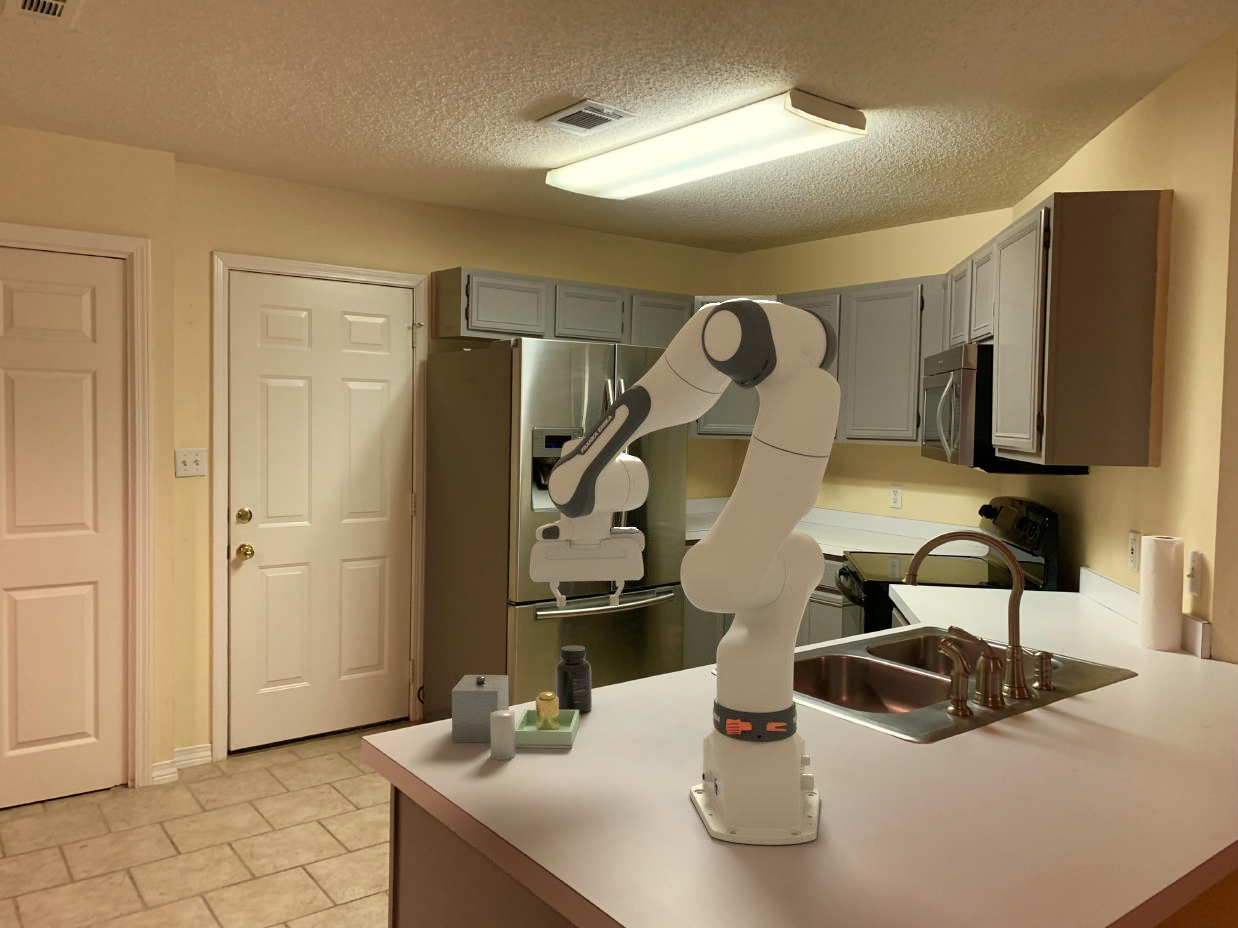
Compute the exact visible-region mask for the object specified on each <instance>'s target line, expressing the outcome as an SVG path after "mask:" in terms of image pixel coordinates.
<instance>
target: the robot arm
mask: <svg viewBox="0 0 1238 928" xmlns="http://www.w3.org/2000/svg"><path fill="white" fill-rule="evenodd" d="M837 351H838V337H837V334H836V330H835V328H834V327H833V325H832V324H831V323H830V321H829V320H827V319H826V317H824V316H822V315H821V314H820V313H817V312H815V311H813V310H810V309H805V308H799V307H795V306H791V305H787V304H785V303H782V302H779V301H771V300H762V299H761V300H760V299H759V300H753V299H749V298H734V299H730V300H726V301H723V302H721V303H720V302H717V303H715V302H714V303H709V304H706V305H704V306H702V307H701V308H700V309H698V311H697V312H695V313H694V315H692V317H690V318H689V320H688V321H687V322H686V323H685V324H684V325H683V326H682V328H681V329H680V330H679V331H678V332H677V334H676V335H675V336H674V338H673V339H672V340H671V342H670V343H669V345H668V346H667V347H666V349H665V350H664V352H663V354H662V355H661V356H660V357H659V359H658V360H657V361H656V362H655V363H654V365H653V366H652V367H651V368H649V370H648V371H647V372H646V373H645V374H644V375H643V376H642V377H641V378H640V379H639V380H637V381H636V382H634V384H633V385H632V386H630V387H628V388H627V389H626V390H625V391H623V392H622V393H621V394H620V395H619V396H618V397H617V398H616V399H615V400H614V401H613V402H612V403H611V405H610V406H609V407H608V408H607V409H606V411H605V412H603V414H602V415H601V416H600V417H599V418H598V420H597V421H596V423H594V425H593V426H592V427H591V429H590V430H589V431H588V432H587V433H586V435H585V436H582V437H575V438H571V439H570V440H568V441H566V442H564V444H563V445H562V449H561V453H560V458H559V460H557V462H556V463H555V464H554V466H553V467H552V468H551V471H550V473H549V476H548V479H547V492H548V495H549V496H548V497H549V498H550V500H551V502H552V504H553V505H554V507H555V508H556V509H557V510H558V511H559V512H560V519H559V520H557V521H556V520H553V521H551V522H550V523H547V524H543V525H541V526H539V527H538V528H536V530H535V538H536V540H537V541H536V542H535V543H534V545H533V546H532V549H531V551H530V552H531V553H530V558H529V559H530V560H529V578H530V579H531V580H532V581H533V582H534V583H545V582H549V589H550V591H551V592H552V593H553V596H555V598H556V608H565V607H566V605H567V602H566V600H567V599H566V598H567V597H566V595H562V594H561V593H560V591H559V589H558V587H559V586H560V582H595V581H597V582H598V581H599V582H601V581H605V582H607V581H613V582H614V581H615V586H616V587H617V590H616V591H615V593H614V594H610V595H609V606H610V607H618V606H619V605H620V604H619V603H620V602H619V601H620V599H619V596H620V594H621V593H622V591H623V589H624V587H625V581H640V580H641V579H642V578H643V577H644V574H645V573H644V561H643V560H644V559H643V553H642V552H643V551H644V549H645V547H646V540H645V539H646V536H645V534H644V532H643V531H641V530H640V529H637V527H633V526H631V527H630V526H629V527H612V526H611V513H616V512H618V513H619V512H627V511H632V510H636V509H638V508H640V507H642V506H643V505H644V504H645V502H646V501H647V500H648V498H649V496H650V492H651V483H652V482H651V474H650V472H649V469H648V467H647V465H646V464H645V462H644V461H643V460H642V459H640V458H639V457H637V456H633V455H629V454H626V453H624V452H625V450H626V448H628V446H630V444H631V443H633V442H634V441H635V440H637V439H639V438H640V437H642V436H645V435H647V434H649V433H651V432H654V431H659V430H661V429H662V430H663V429H665V428H670V427H674V426H679V425H683V424H688V423H690V422H694V421H696V420H698V419H699V418H701V417H702V416H704V415H705V414H706V413H707V412H708V411H709V410H710V409H711V408H713V407H714V405H715V404H716V403H717V402H718V400H719V399H720V398H721V396H722V395H723V394H724V393H725V390H727V388H728V386H729V385H730V384H731V382H732V381H733V383H735V384H736V385H737V387H739V388H741V389H743V390H749V389H753V388H754V387H755V389H756V390H757V393H758V396H759V408H758V413H757V415H756V416H757V417H756V420H755V423H754V425H753V429H752V434H751V437H750V441H749V444H748V447H747V451H746V453H745V454H746V455H745V458H744V461H743V464H742V468H741V470H740V471H741V472H740V475H739V477H738V480H737V483H736V484H735V488H734V489H733V491H732V494H731V495H730V497H729V499H728V501H727V502H726V505H725V506H724V507H723V509H722V511H721V512H720V514H719V516H718V517H717V518H716V520H715V522H714V523H713V525H712V526H711V527H710V529H709V530H708V531H707V533H706V534H705V535H704V536H703V537H702V538H701V539H699V541H697V542H696V543H695V544H694V545H693V546H692V547H690V548H689V549H688V550H687V551H686V553H685V554H684V556H683V558H682V560H681V565H680V571H679V572H680V575H679V576H680V584H681V587H682V589H683V592H684V594H685V597H686V598H687V599H688V602H690V603H691V604H692V605H693V606H694V607H696V608H697V609H699V610H701V611H703V612H711V613H719V614H720V613H721V614H734V618H733V621H732V623H731V625H730V627H729V629H728V631H727V632H726V633H725V635H723V637H722V638H721V639H720V641H719V643H718V646H717V649H716V697H715V698H714V700H713V707H712V716H713V719H712V720H713V721H712V723H713V729H712V730H711V731H710V732H709V733H708V734H707V735H705V737H703V742H702V745H703V746H702V747H703V748H702V749H703V750H702V774H701V775H702V777H701V778H702V779H701V780H702V783H698V784H696V785H693V786H691V787H690V789H689V797H690V798H691V801H692V802H693V803H692V804H693V805H694V807H695V809H696V810H697V812H698V814H699V816H700V818H701V820H702V822H703V823H704V826H705V827H706V829H707V831H708V833H709V835H710V836H711V837H712V838H714V839H718V840H721V841H726V842H731V843H737V844H746V845H747V844H749V845H767V846H768V845H770V846H771V845H773V846H775V845H776V846H777V845H780V846H781V845H794V844H802V843H807V842H811V841H814V840H816V839H817V835H818V827H819V826H818V824H819V814H820V813H819V812H820V806H821V805H820V803H821V795H820V794H821V793H820V790H819V789H817V788H815V784H814V783H815V774H814V773H809V772H805V771H806V768H805V767H806V766H807V767H809V766H810V763H811V760H810V759H811V758H810V755H806V741H805V739H804V738H802V736H801V735H799V734H798V732H797V728H798V726H797V719H798V712H797V704H796V702H795V701H794V669H795V668H794V663H795V650H796V644H797V639H798V634H799V631H800V626H801V622H802V620H803V616H804V613H805V611H806V607H807V604H808V602H809V600H810V598H811V595H812V594H813V592H814V591H815V589H816V588H817V587H818V586H819V584H820V583H821V581H822V579H823V576H824V573H825V567H826V566H825V562H826V561H825V555H824V553H823V550H822V548H821V546H820V544H819V542H817V541H816V539H815V538H813V537H812V536H811V535H810V534H808V533H805V532H803V531H799V530H795V527H797V525H798V523H799V522H801V521H802V519H804V518H805V517H806V516H807V515H808V514H809V513H810V512H811V511H812V509H813V508H814V506H815V504H816V502H817V499H818V495H819V492H820V489H821V485H822V481H823V479H824V476H825V473H826V469H827V466H828V462H829V460H830V456H831V451H832V448H833V445H834V441H835V437H836V432H837V427H838V420H839V416H840V415H839V413H840V408H841V394H842V391H841V387H840V384H839V382H838V381H837V380H836V378H835V377H834V376H833V375H832V374H831V373H829V372H828V371H829V369H830V368H831V366H832V364H833V362H834V360H835V358H836V355H837Z"/></svg>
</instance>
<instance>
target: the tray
mask: <svg viewBox="0 0 1238 928" xmlns="http://www.w3.org/2000/svg"><path fill="white" fill-rule="evenodd" d="M579 727H580V714H579V710H559V730H536V708H535V709H534V708H524V709H523V712H522V713H521V715H520V717H519V719H518V721H517V723H516V724H515V748H534V749H536V748H537V749H542V748H543V749H545V748H546V749H573V746H574V744H575V743H574V742H575V739H576V736H577V733H578V731H579Z"/></svg>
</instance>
